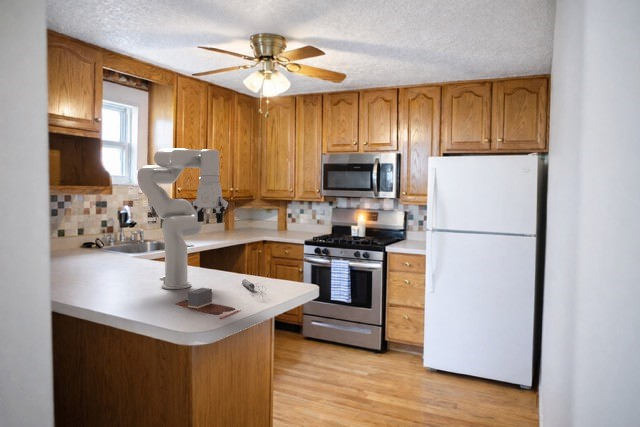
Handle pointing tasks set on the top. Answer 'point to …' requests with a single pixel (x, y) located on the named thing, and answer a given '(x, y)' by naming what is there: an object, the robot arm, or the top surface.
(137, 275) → the top surface
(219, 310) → the wooden tablet
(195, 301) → the sanding block
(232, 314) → the carpenter pencil
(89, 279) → the top surface
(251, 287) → the kitchen whisk
